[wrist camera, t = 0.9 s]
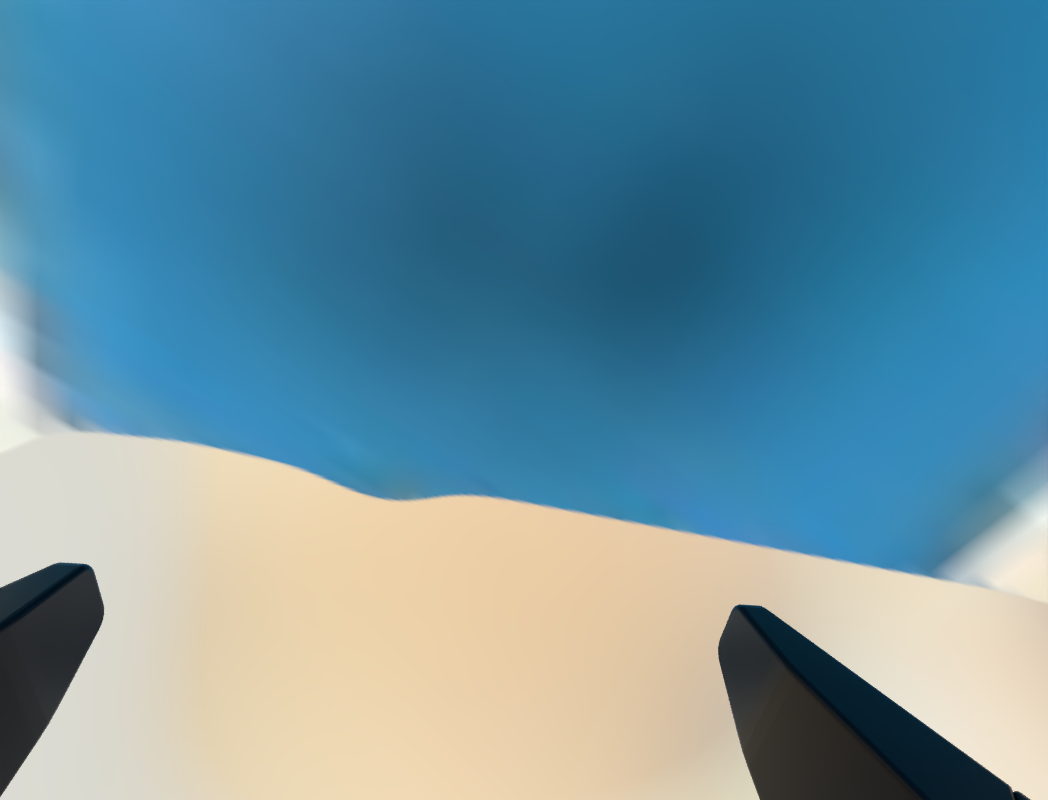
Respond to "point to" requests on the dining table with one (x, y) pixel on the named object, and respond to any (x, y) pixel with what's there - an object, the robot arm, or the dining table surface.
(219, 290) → the dining table surface
